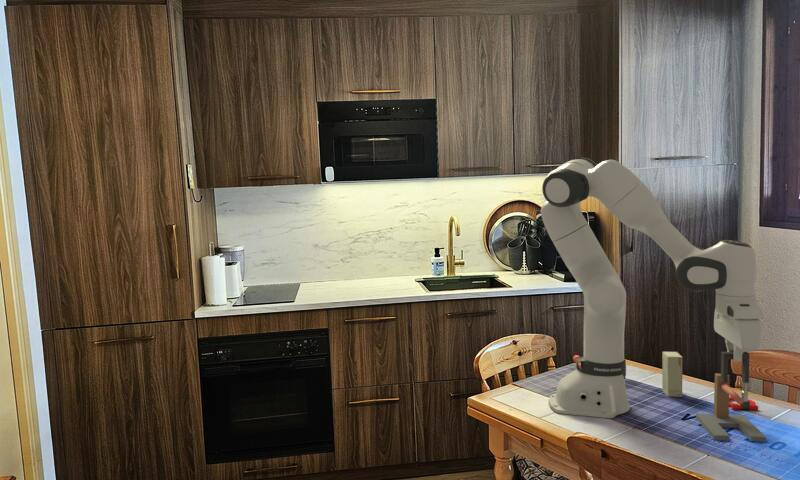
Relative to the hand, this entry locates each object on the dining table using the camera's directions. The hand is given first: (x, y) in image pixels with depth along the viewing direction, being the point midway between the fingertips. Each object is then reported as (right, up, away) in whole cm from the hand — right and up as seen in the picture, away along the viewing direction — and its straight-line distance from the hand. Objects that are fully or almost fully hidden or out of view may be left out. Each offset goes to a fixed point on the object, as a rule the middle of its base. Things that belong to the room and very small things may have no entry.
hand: (734, 358), depth 154 cm
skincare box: (-2, -17, +31) cm, 35 cm away
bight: (0, -6, +1) cm, 6 cm away
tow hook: (+12, -17, +20) cm, 29 cm away
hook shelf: (+1, -19, +4) cm, 19 cm away
